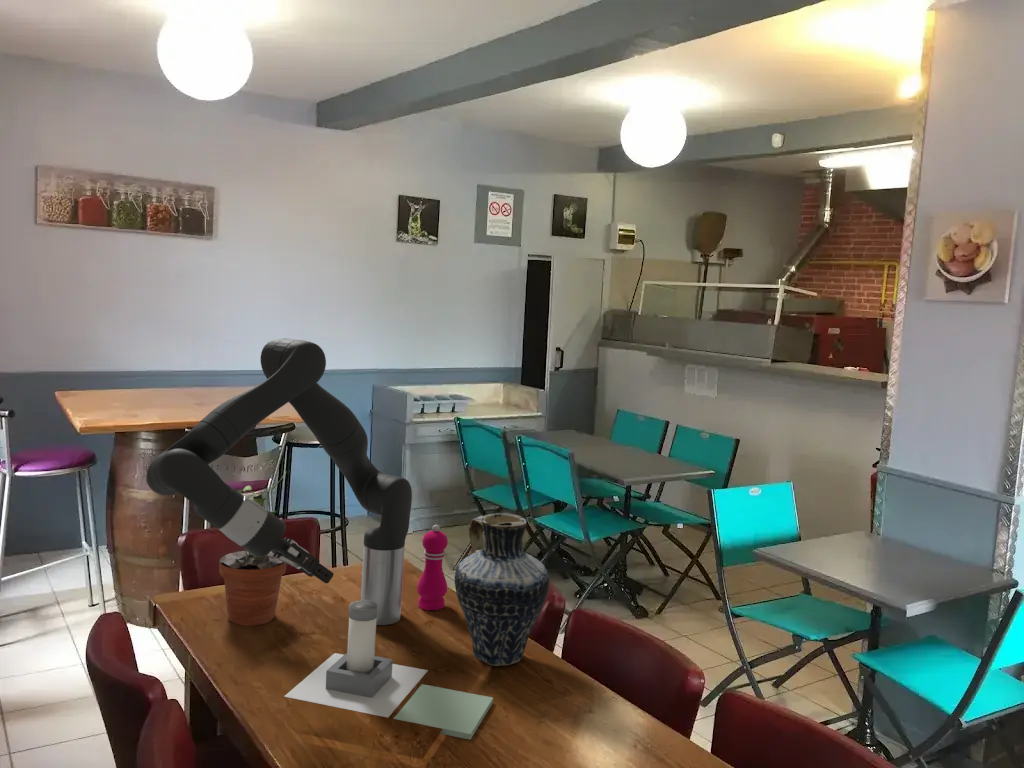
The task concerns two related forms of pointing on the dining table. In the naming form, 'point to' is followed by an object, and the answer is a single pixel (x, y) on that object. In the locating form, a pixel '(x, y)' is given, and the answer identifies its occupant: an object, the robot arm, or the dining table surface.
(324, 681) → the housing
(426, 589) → the pepper mill
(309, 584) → the dining table surface
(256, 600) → the potted plant
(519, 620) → the jug
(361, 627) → the cartridge
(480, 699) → the mat
